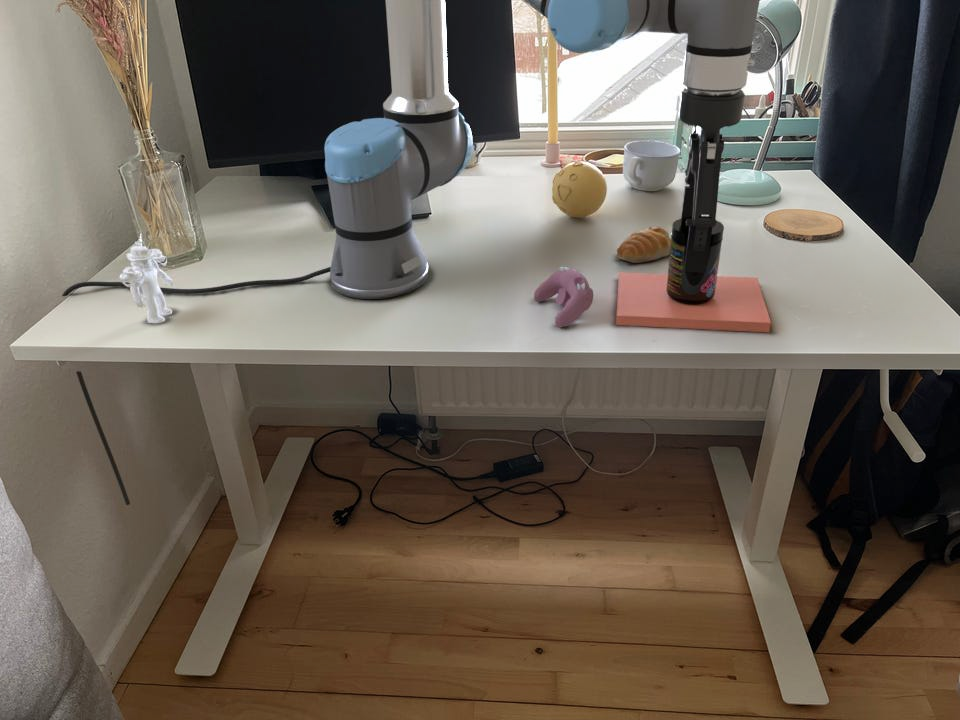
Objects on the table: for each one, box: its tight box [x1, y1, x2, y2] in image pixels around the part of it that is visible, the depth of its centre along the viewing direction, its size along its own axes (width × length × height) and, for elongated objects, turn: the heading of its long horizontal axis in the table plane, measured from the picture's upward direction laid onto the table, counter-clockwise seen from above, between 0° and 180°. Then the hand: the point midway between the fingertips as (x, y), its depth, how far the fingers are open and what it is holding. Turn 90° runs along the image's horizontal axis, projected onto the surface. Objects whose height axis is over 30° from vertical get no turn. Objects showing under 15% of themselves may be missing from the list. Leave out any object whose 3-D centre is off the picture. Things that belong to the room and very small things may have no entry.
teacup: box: [622, 140, 681, 192], centre depth 149 cm, size 14×11×8 cm
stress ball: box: [551, 160, 608, 218], centre depth 137 cm, size 10×10×10 cm
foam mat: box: [615, 272, 772, 333], centre depth 107 cm, size 20×14×2 cm
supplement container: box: [666, 217, 725, 305], centre depth 104 cm, size 7×7×10 cm
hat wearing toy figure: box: [119, 233, 174, 324], centre depth 108 cm, size 9×4×12 cm, turn 170°
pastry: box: [616, 226, 671, 264], centre depth 122 cm, size 9×7×4 cm
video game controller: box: [533, 266, 595, 328], centre depth 106 cm, size 10×5×7 cm, turn 17°
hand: (691, 250), depth 103 cm, fingers open, 13 cm apart
